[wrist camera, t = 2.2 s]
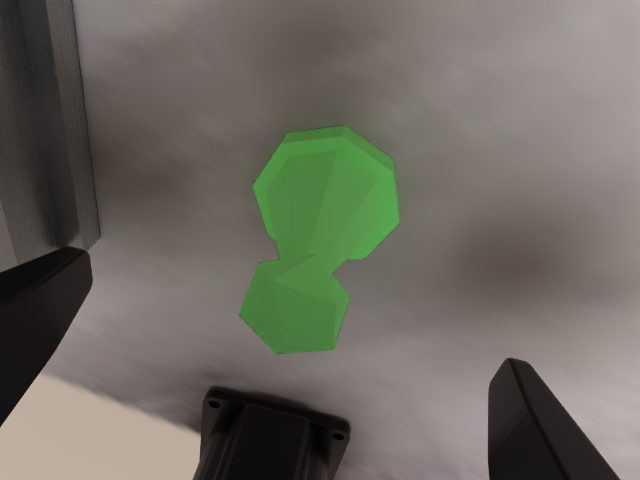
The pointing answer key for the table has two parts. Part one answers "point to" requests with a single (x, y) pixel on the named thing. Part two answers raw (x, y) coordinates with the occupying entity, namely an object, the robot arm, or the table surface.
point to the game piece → (317, 233)
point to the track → (42, 135)
